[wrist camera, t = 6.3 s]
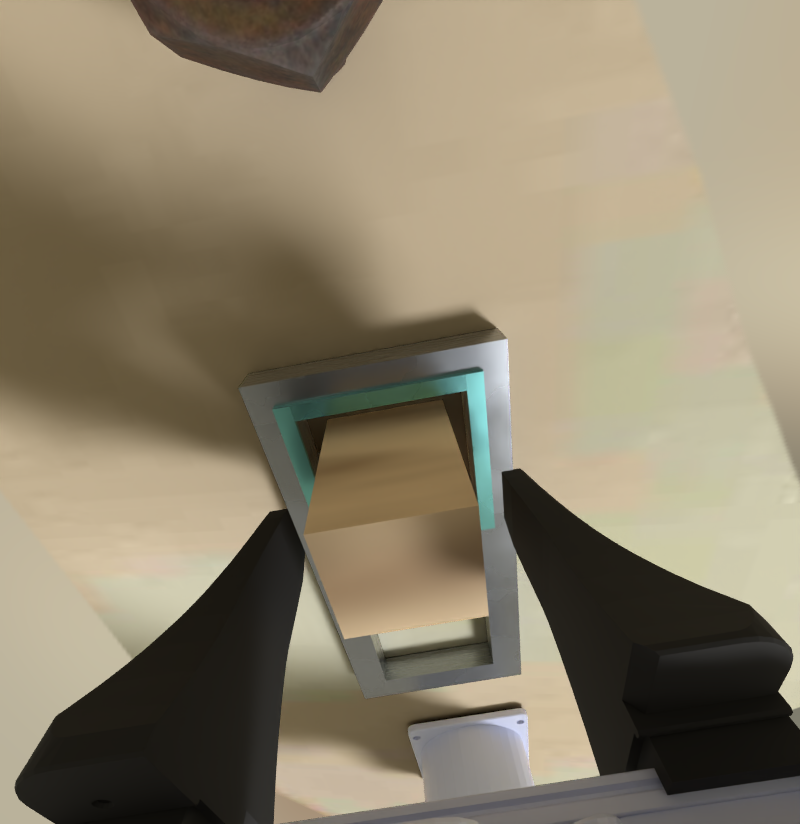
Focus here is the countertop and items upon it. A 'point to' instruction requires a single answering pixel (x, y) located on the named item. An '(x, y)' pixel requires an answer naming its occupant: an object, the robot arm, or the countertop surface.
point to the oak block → (396, 522)
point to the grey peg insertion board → (488, 456)
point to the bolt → (262, 35)
